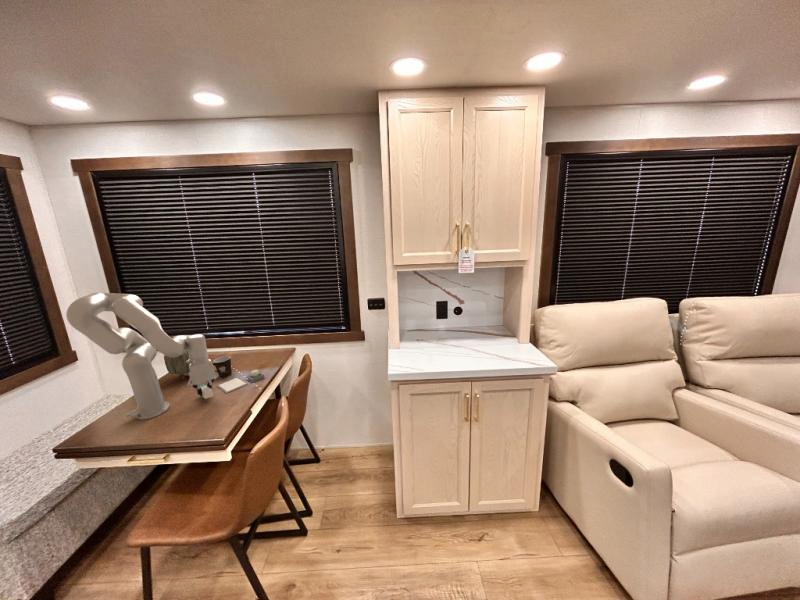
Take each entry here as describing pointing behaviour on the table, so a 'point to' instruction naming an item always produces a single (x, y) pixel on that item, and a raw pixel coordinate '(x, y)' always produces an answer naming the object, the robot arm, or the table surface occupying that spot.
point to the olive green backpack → (178, 364)
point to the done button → (254, 373)
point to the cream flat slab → (232, 385)
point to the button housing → (255, 377)
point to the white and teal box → (206, 391)
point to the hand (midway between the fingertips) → (205, 393)
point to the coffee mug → (223, 366)
